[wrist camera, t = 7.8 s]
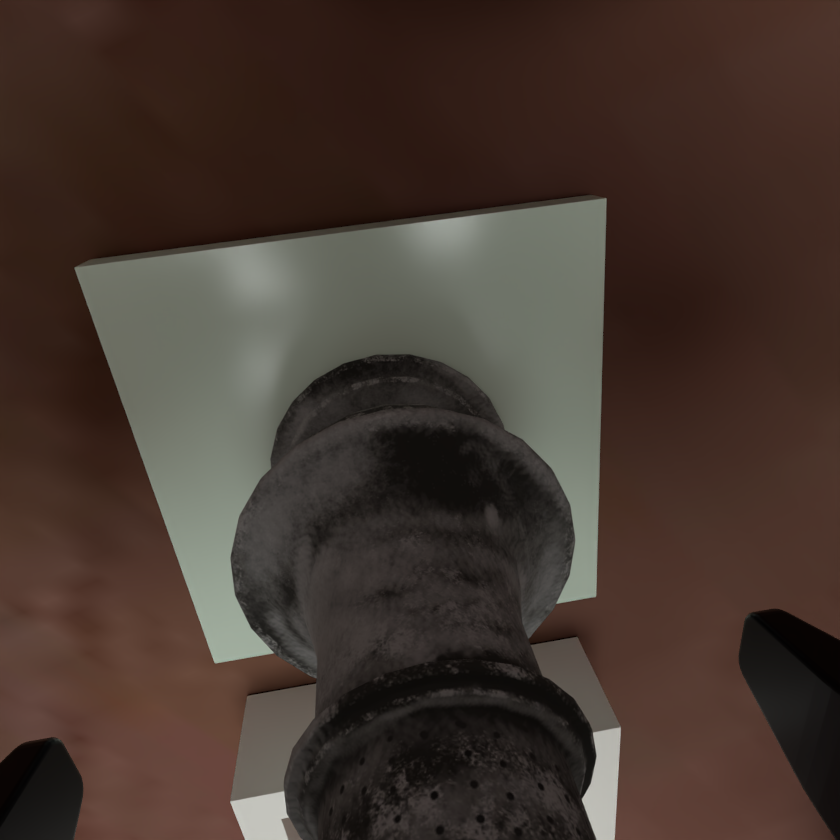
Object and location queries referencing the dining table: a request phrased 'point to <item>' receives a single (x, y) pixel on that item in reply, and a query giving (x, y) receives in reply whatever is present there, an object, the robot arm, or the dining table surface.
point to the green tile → (350, 357)
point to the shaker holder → (295, 709)
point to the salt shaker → (415, 611)
